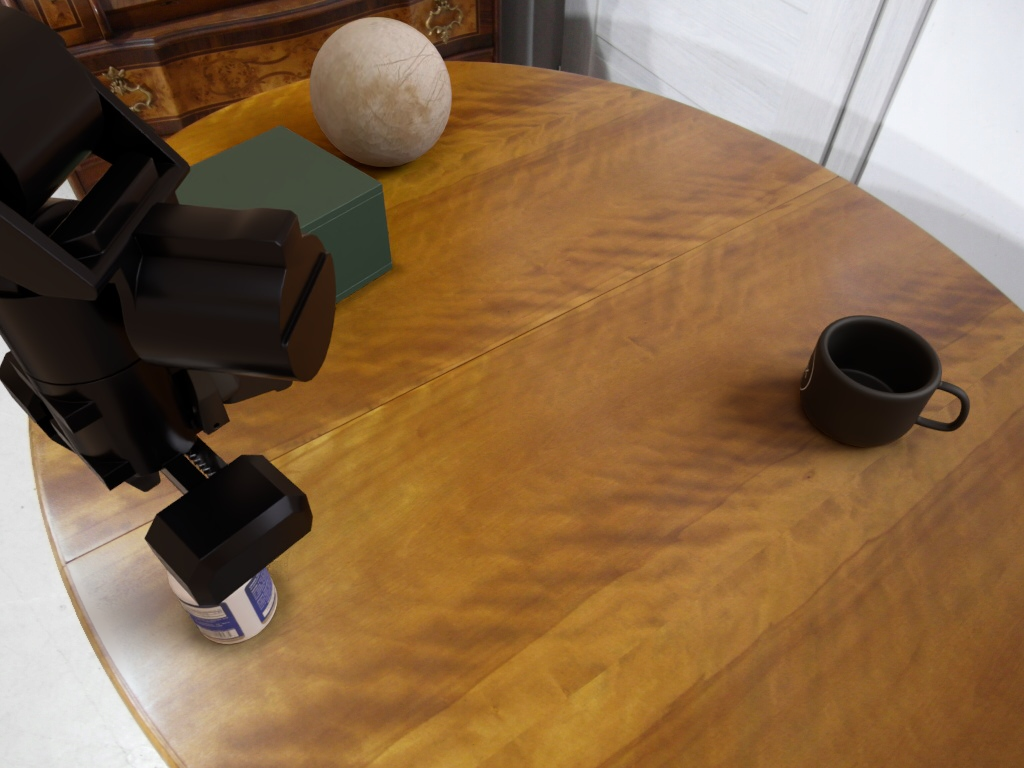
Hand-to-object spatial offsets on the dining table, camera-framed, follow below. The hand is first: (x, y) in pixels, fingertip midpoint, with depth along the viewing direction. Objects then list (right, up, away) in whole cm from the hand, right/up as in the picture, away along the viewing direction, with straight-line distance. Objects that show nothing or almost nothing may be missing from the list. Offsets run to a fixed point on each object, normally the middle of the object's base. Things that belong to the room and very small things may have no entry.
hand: (195, 531), depth 44 cm
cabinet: (-4, +19, +30) cm, 36 cm away
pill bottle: (0, -7, +7) cm, 10 cm away
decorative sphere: (+4, +34, +45) cm, 56 cm away
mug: (+47, +5, +19) cm, 51 cm away
